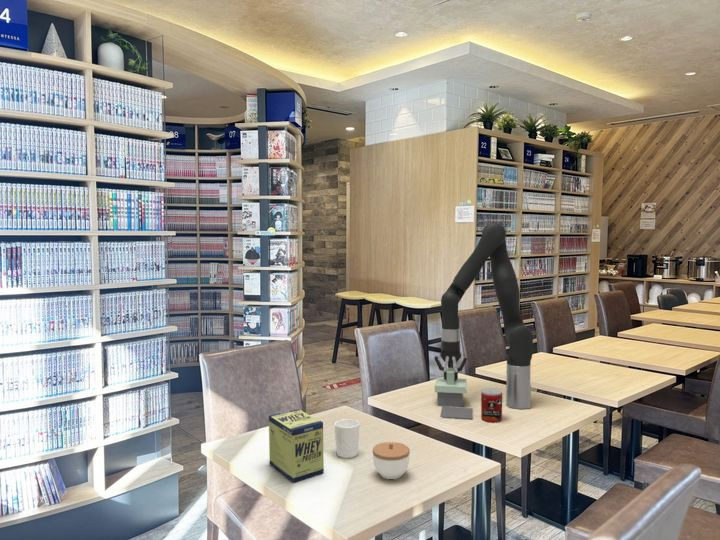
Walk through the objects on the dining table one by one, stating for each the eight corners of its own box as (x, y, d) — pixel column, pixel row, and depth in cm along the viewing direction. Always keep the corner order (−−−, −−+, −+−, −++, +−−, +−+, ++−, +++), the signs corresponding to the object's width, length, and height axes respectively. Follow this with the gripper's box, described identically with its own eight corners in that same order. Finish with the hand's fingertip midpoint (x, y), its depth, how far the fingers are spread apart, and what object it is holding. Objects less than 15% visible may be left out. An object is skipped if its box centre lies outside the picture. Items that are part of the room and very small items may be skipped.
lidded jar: (365, 475, 155) (364, 443, 154) (390, 463, 162) (389, 433, 162) (392, 487, 147) (392, 454, 147) (417, 474, 155) (417, 443, 154)
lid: (466, 384, 225) (466, 367, 224) (465, 393, 213) (465, 374, 212) (436, 383, 227) (436, 365, 227) (434, 392, 215) (434, 373, 215)
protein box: (293, 483, 150) (292, 429, 149) (268, 464, 163) (267, 414, 162) (324, 473, 156) (324, 421, 155) (298, 456, 169) (297, 408, 168)
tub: (462, 399, 224) (463, 383, 224) (462, 407, 214) (462, 390, 214) (439, 398, 226) (439, 382, 226) (437, 405, 216) (437, 388, 216)
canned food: (480, 422, 197) (481, 393, 197) (481, 415, 205) (481, 386, 204) (502, 423, 196) (502, 394, 195) (501, 416, 203) (502, 388, 203)
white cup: (331, 451, 172) (331, 420, 172) (354, 447, 175) (354, 417, 174) (339, 460, 165) (339, 429, 164) (363, 456, 168) (363, 425, 167)
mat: (472, 409, 212) (472, 408, 212) (472, 419, 200) (472, 418, 200) (442, 407, 214) (442, 406, 214) (440, 417, 202) (440, 416, 202)
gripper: (468, 337, 221) (468, 378, 222) (434, 337, 224) (434, 377, 225) (467, 341, 213) (467, 383, 215) (432, 340, 216) (432, 382, 217)
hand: (450, 380), depth 220 cm, fingers closed on lid, 3 cm apart
